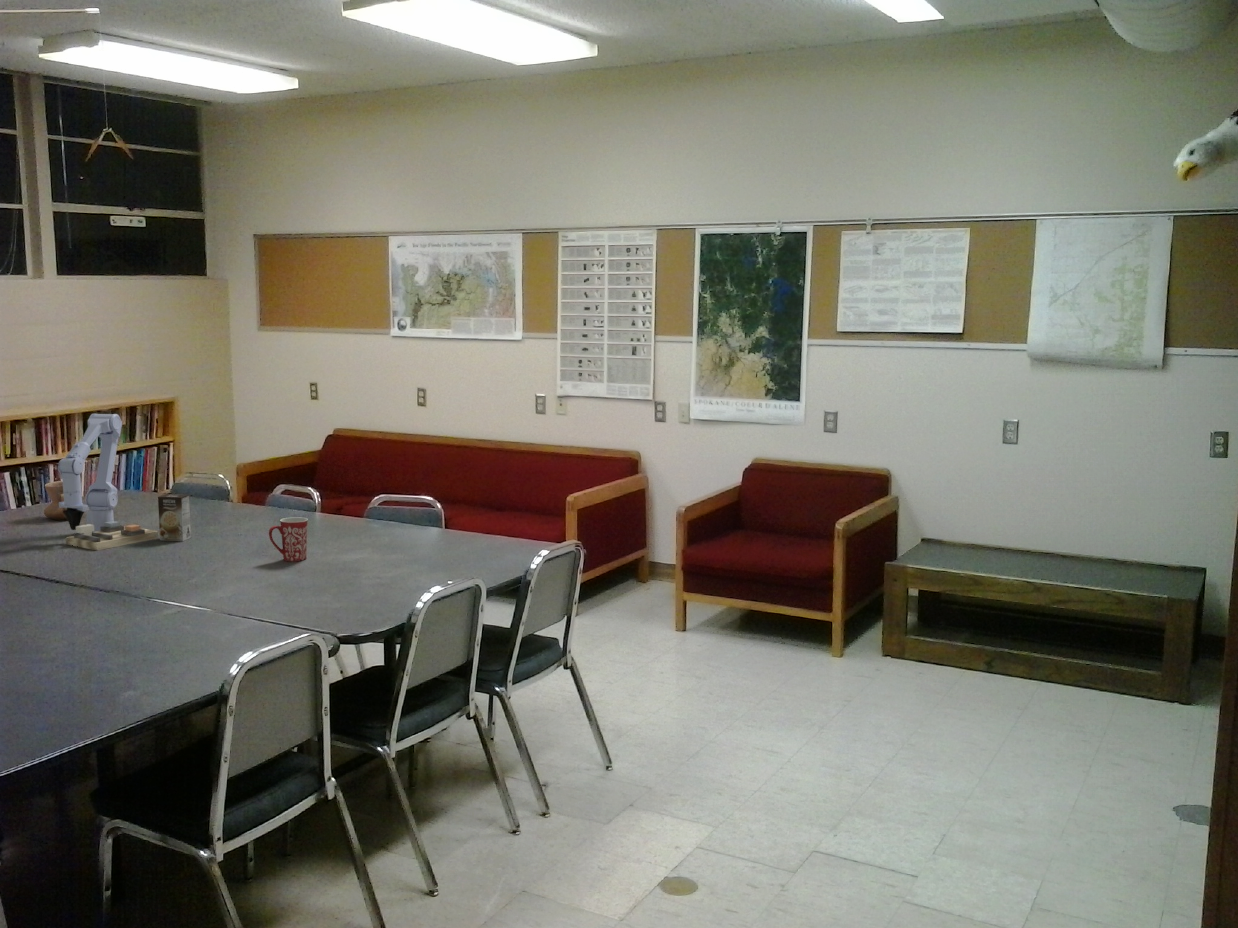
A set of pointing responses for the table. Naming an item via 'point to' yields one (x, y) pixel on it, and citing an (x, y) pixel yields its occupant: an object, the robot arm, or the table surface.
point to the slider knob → (85, 529)
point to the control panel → (110, 538)
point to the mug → (292, 538)
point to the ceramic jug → (55, 501)
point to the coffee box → (174, 517)
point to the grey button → (112, 524)
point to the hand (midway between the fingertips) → (75, 529)
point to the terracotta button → (132, 527)
